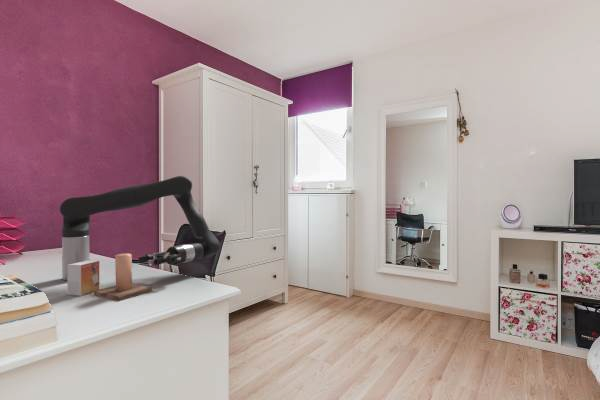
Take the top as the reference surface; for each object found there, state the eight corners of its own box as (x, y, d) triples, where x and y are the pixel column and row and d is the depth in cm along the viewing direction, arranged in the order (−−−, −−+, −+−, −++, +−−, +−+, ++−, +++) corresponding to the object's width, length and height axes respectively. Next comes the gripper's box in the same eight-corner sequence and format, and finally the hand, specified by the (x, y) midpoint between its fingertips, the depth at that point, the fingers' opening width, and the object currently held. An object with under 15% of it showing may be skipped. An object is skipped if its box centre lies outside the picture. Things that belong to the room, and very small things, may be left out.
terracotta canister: (112, 290, 111) (112, 255, 111) (126, 286, 116) (125, 253, 115) (121, 292, 109) (121, 256, 109) (135, 288, 113) (134, 254, 113)
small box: (81, 296, 108) (80, 265, 108) (67, 295, 110) (66, 264, 109) (100, 289, 116) (99, 260, 116) (87, 288, 117) (86, 259, 117)
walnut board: (94, 294, 110) (94, 291, 110) (127, 285, 121) (127, 282, 121) (119, 300, 104) (119, 296, 104) (152, 290, 114) (152, 287, 114)
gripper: (168, 244, 138) (133, 249, 123) (193, 246, 131) (159, 252, 117) (169, 261, 138) (134, 269, 123) (193, 264, 131) (159, 273, 117)
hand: (146, 261), depth 120 cm, fingers open, 8 cm apart
